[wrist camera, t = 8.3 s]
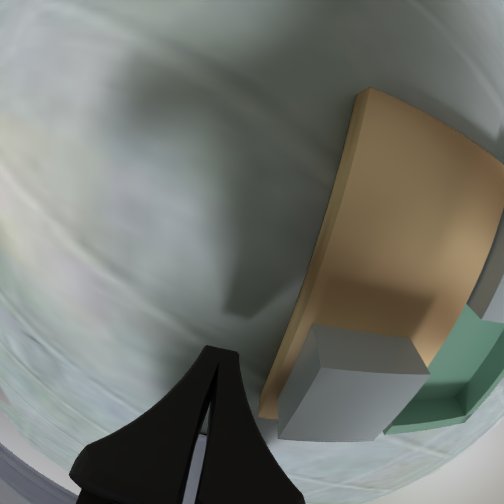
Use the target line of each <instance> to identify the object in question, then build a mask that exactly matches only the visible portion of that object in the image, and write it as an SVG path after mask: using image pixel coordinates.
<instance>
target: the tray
mask: <svg viewBox="0 0 504 504" xmlns="http://www.w3.org/2000/svg"><path fill="white" fill-rule="evenodd" d="M427 368H428V370H429V372H430V374H431V375H430V377H429V378H428V379H427V381H426V382H425V383H424V384H423V386H422V387H421V388H420V390H419V391H418V392H417V393H416V395H415V396H414V397H413V398H412V399H411V401H410V402H409V403H408V404H407V405H406V406H405V408H404V409H403V410H402V411H401V412H400V413H399V414H398V415H397V416H396V418H395V419H394V420H393V421H392V422H391V423H390V424H389V425H388V426H387V427H386V428H385V429H384V430H383V432H384V435H386V434H397V433H407V432H415V431H422V430H428V429H434V428H440V427H445V426H450V425H455V424H459V423H464V422H465V421H466V420H467V419H468V418H469V417H470V416H471V415H472V414H473V413H474V412H475V411H476V410H477V409H478V407H479V406H480V405H481V404H482V403H483V402H484V401H485V399H486V398H487V397H488V396H489V395H490V393H491V392H492V391H493V390H494V388H495V387H496V386H497V385H498V383H499V382H500V381H501V379H502V378H503V377H504V323H498V322H492V321H486V320H481V319H480V318H479V317H478V316H477V315H476V313H475V312H474V311H473V310H472V309H471V308H470V307H469V306H468V305H467V304H466V305H465V306H464V308H463V310H462V312H461V314H460V316H459V318H458V319H457V321H456V323H455V325H454V326H453V328H452V330H451V332H450V333H449V335H448V337H447V338H446V340H445V341H444V343H443V345H442V346H441V348H440V349H439V351H438V352H437V354H436V355H435V357H434V358H433V360H432V361H431V363H430V364H429V366H428V367H427Z"/></svg>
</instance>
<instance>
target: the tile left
mask: <svg viewBox="0 0 504 504" xmlns="http://www.w3.org/2000/svg"><path fill="white" fill-rule="evenodd" d="M430 375H431V374H430V372H429V370H428V368H427V367H426V365H425V363H424V361H423V360H422V358H421V356H420V354H419V353H418V351H417V349H416V348H415V346H414V344H413V342H412V341H411V339H410V338H404V337H396V336H388V335H381V334H374V333H367V332H360V331H354V330H347V329H341V328H335V327H329V326H324V325H318V324H313V323H312V325H311V328H310V330H309V332H308V335H307V337H306V339H305V342H304V344H303V346H302V348H301V351H300V353H299V355H298V357H297V359H296V362H295V364H294V366H293V368H292V370H291V372H290V374H289V377H288V379H287V381H286V383H285V385H284V387H283V389H282V391H281V393H280V395H279V397H278V439H284V440H296V441H314V442H361V441H373V440H374V439H375V438H376V437H377V436H378V435H379V434H380V433H381V432H382V431H383V430H384V429H385V428H386V427H387V426H388V425H389V424H390V423H391V422H392V421H393V420H394V419H395V418H396V416H397V415H398V414H399V413H400V412H401V411H402V410H403V409H404V408H405V406H406V405H407V404H408V403H409V402H410V401H411V399H412V398H413V397H414V396H415V395H416V393H417V392H418V391H419V390H420V388H421V387H422V386H423V384H424V383H425V382H426V381H427V379H428V378H429V377H430Z"/></svg>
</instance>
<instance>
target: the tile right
mask: <svg viewBox="0 0 504 504" xmlns="http://www.w3.org/2000/svg"><path fill="white" fill-rule="evenodd" d="M466 304H467V305H468V306H469V307H470V308H471V309H472V310H473V311H474V312H475V313H476V315H477V316H478V317H479V318H480V319H481V320H486V321H492V322H498V323H504V208H503V212H502V215H501V219H500V222H499V225H498V228H497V231H496V234H495V237H494V240H493V243H492V246H491V248H490V251H489V253H488V256H487V259H486V261H485V264H484V266H483V268H482V271H481V273H480V275H479V278H478V280H477V282H476V284H475V286H474V288H473V290H472V293H471V295H470V297H469V299H468V301H467V303H466Z"/></svg>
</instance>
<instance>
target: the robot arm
mask: <svg viewBox="0 0 504 504" xmlns="http://www.w3.org/2000/svg"><path fill="white" fill-rule="evenodd" d="M210 401H211V402H210ZM209 404H210V411H209V420H208V429H207V436H206V435H201V434H200V431H201V428H202V425H203V422H204V419H205V416H206V413H207V410H208V407H209ZM69 476H70V478H71V479H72V480H73V481H74V482H75V483H76V484H77V485H78V486H79V487H80V488H81V492H80V494H79V496H78V495H76V494H74V493H72V492H71V491H69V490H67V489H65V488H63V487H62V486H60V485H58V484H57V483H55V482H53V481H52V480H50V479H49V478H47V477H45V476H44V475H42V474H41V473H39V472H38V471H36V470H35V469H34V468H32V467H31V466H29V465H28V464H26V463H25V462H24V461H22V460H21V459H20V458H18V457H17V456H16V455H15V454H13V453H12V452H11V451H10V450H8V449H7V448H6V447H5V446H3V445H2V444H1V443H0V504H305V500H304V497H303V495H302V493H301V492H300V491H299V490H298V489H297V488H296V487H295V485H294V484H293V483H292V482H291V481H290V479H289V478H288V477H287V476H286V474H285V473H284V471H283V470H282V469H281V467H280V466H279V465H278V463H277V461H276V460H275V458H274V457H273V455H272V453H271V452H270V450H269V449H268V447H267V445H266V443H265V441H264V439H263V438H262V436H261V434H260V431H259V429H258V427H257V425H256V423H255V420H254V418H253V415H252V413H251V410H250V407H249V404H248V401H247V398H246V394H245V390H244V386H243V382H242V378H241V372H240V365H239V354H238V353H237V352H235V351H230V350H226V349H222V348H217V347H213V346H209V345H206V346H204V348H203V350H202V352H201V353H200V355H199V357H198V358H197V360H196V361H195V362H194V364H193V365H192V367H191V368H190V369H189V370H188V372H187V373H186V374H185V375H184V376H183V378H182V379H181V380H180V381H179V382H178V383H177V384H176V385H175V386H174V387H173V388H172V389H171V390H170V391H169V392H168V393H167V394H166V395H165V396H164V397H163V398H162V399H161V400H160V401H159V402H158V403H156V404H155V405H154V406H153V407H152V408H150V409H149V410H148V411H146V412H145V413H144V414H142V415H141V416H140V417H138V418H137V419H135V420H134V421H132V422H131V423H129V424H128V425H126V426H124V427H123V428H121V429H119V430H117V431H116V432H114V433H112V434H110V435H108V436H106V437H104V438H102V439H100V440H97V441H95V442H93V443H91V444H88V445H87V446H86V447H85V448H84V449H83V450H82V451H81V453H80V454H79V455H78V457H77V458H76V460H75V462H74V464H73V466H72V468H71V471H70V473H69Z"/></svg>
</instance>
